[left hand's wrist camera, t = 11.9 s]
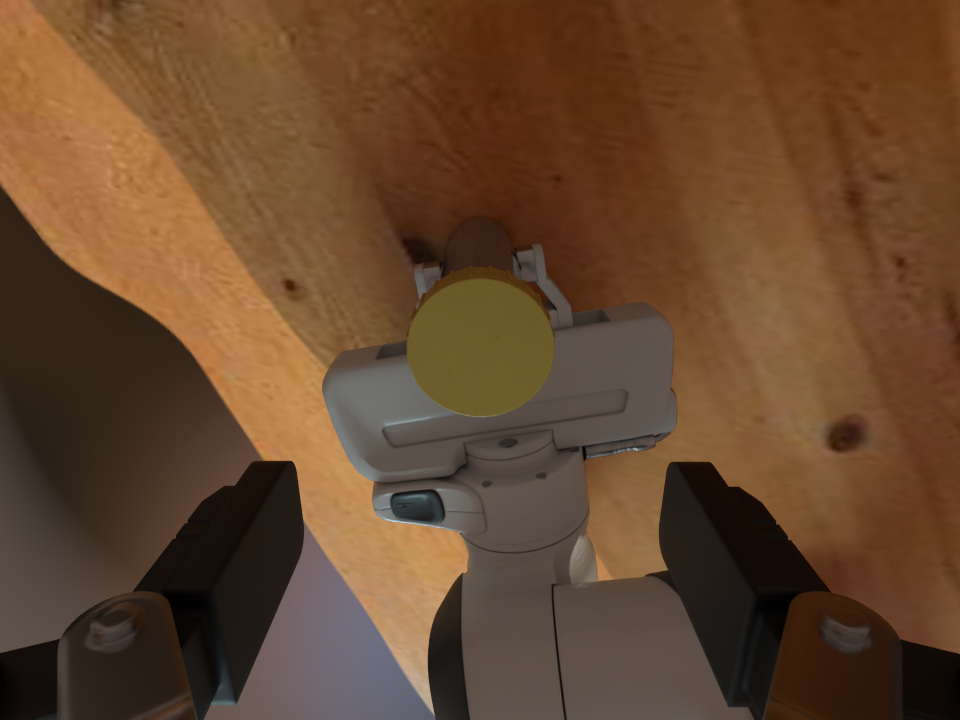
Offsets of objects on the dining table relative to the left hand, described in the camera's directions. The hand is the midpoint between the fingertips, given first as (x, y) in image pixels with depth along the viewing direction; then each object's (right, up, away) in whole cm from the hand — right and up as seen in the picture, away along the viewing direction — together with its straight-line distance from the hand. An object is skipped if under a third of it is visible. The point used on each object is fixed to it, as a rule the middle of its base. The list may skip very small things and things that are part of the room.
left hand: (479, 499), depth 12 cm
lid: (0, +3, +8) cm, 9 cm away
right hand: (0, +9, +20) cm, 22 cm away
